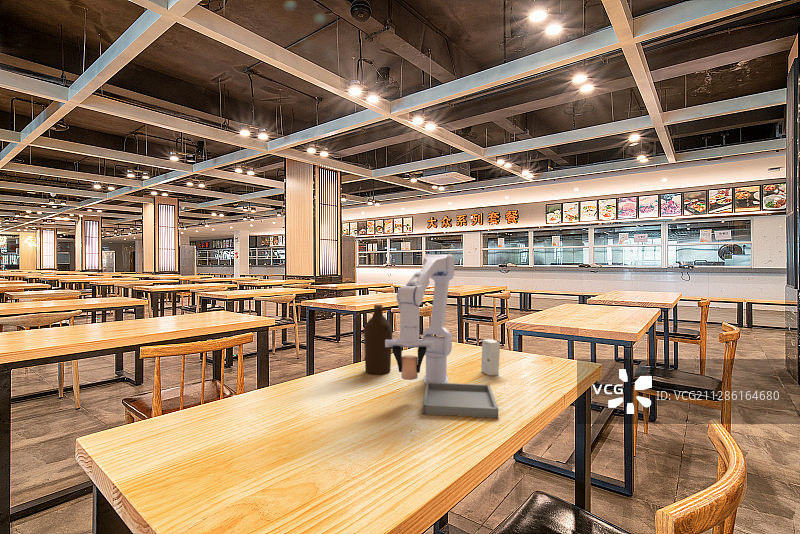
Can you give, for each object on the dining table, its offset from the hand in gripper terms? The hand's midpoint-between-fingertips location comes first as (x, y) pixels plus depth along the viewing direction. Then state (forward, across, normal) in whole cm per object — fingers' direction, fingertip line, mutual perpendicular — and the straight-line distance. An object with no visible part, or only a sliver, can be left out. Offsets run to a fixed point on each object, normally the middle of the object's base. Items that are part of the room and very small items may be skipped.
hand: (409, 371), depth 115 cm
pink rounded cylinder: (+2, 0, 0) cm, 2 cm away
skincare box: (+9, +27, +32) cm, 43 cm away
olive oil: (+9, -14, +29) cm, 34 cm away
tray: (+9, +15, 0) cm, 17 cm away
